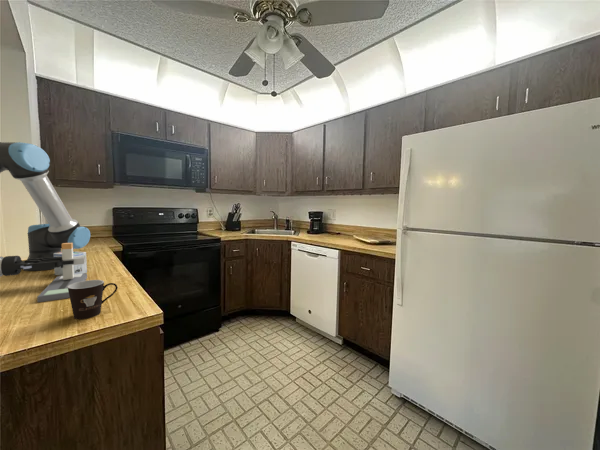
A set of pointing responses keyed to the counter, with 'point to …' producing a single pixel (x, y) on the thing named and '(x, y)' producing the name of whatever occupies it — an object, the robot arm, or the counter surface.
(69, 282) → the plate
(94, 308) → the coffee mug
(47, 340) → the counter surface
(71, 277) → the breaker lever
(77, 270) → the light bulb box
